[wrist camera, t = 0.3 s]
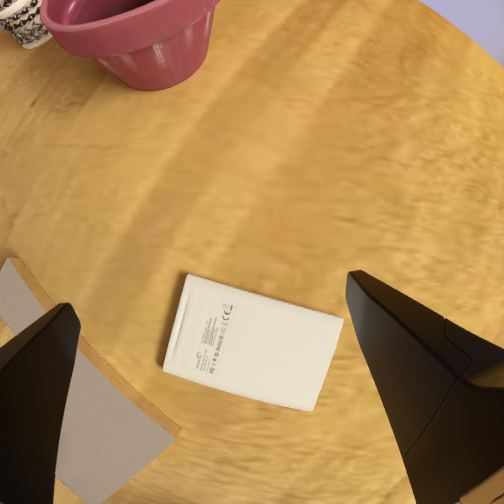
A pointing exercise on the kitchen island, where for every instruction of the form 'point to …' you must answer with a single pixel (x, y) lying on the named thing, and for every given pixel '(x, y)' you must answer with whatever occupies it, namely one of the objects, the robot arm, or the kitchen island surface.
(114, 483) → the plate
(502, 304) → the kitchen island surface
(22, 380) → the robot arm
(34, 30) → the decorative candle
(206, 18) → the plant pot
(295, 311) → the external hard drive
